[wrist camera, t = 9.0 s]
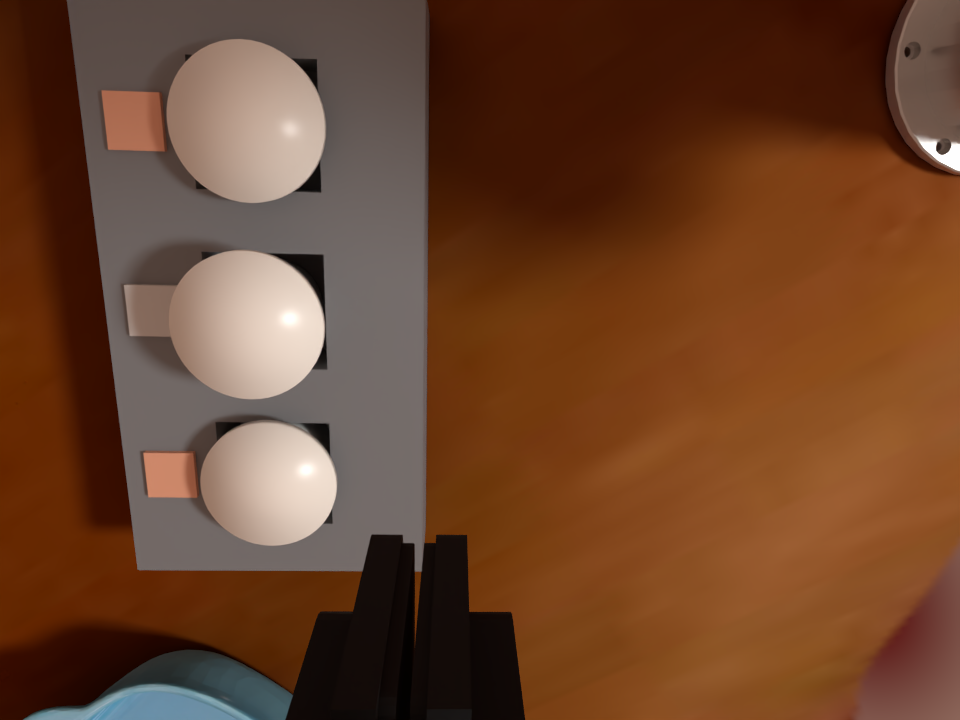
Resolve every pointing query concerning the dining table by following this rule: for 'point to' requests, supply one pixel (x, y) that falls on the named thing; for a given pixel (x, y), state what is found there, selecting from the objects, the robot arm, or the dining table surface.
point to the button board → (277, 231)
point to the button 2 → (270, 481)
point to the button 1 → (246, 121)
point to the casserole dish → (183, 692)
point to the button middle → (247, 323)
